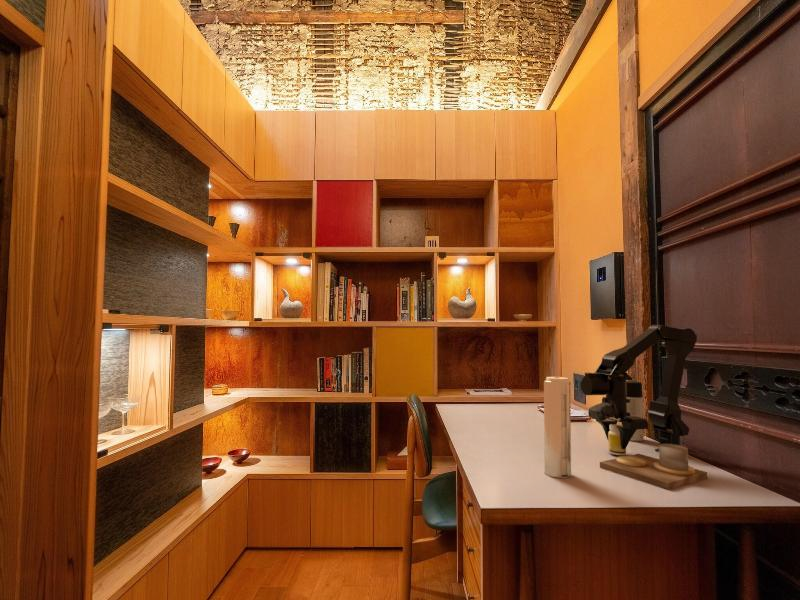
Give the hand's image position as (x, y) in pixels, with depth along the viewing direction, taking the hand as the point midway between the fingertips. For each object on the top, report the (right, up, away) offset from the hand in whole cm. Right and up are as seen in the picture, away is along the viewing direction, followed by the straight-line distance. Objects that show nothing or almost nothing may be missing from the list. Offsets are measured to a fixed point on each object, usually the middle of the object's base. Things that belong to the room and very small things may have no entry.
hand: (617, 446), depth 128 cm
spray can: (+15, -4, +19) cm, 25 cm away
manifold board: (+1, -1, -16) cm, 16 cm away
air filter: (-25, -1, -19) cm, 31 cm away
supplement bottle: (0, -2, 0) cm, 2 cm away
